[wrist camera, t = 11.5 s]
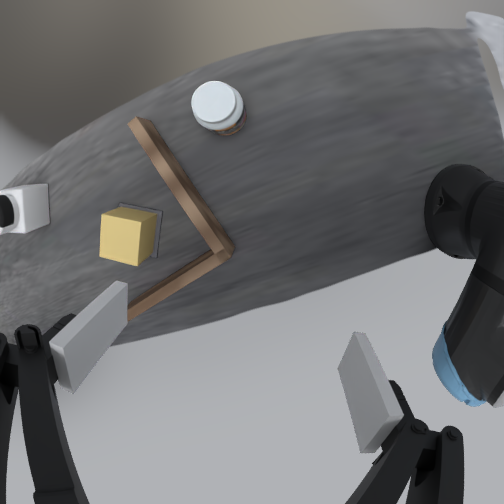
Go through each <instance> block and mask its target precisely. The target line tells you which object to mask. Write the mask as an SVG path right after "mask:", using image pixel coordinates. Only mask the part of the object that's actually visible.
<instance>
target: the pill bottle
mask: <svg viewBox="0 0 504 504" xmlns="http://www.w3.org/2000/svg"><path fill="white" fill-rule="evenodd" d="M191 105H192V110H193V113H194V116H195V118H196V120H197V121H198V123H199V124H201V125H202V126H203V127H205V128H207V129H208V130H210V131H211V132H213V133H215V134H218V135H231V134H234V133H236V132H237V131H238V130H240V129H241V128H242V126H243V125H244V123H245V120H246V109H245V106H244V103H243V100H242V97H241V95H240V94H239V92H238V91H237V90H236V89H234V88H233V87H231V86H229V85H227V84H225V83H223V82H220V81H210V82H207V83H204V84H203V85H201V86H200V87H198V88H197V90H196V91H195V92H194V94H193V97H192V101H191Z"/></svg>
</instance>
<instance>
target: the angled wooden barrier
mask: <svg viewBox="0 0 504 504" xmlns="http://www.w3.org/2000/svg"><path fill="white" fill-rule="evenodd" d="M128 125H129V127H130V129H131V130H132V132H133V133H134V135H135V136H136V138H137V139H138V141H139V143H140V144H141V146H142V147H143V149H144V150H145V152H146V153H147V155H148V156H149V158H150V160H151V161H152V163H153V164H154V166H155V167H156V169H157V170H158V172H159V173H160V175H161V176H162V178H163V179H164V181H165V182H166V184H167V185H168V187H169V188H170V190H171V191H172V193H173V194H174V196H175V197H176V199H177V200H178V202H179V203H180V205H181V206H182V207H183V209H184V210H185V212H186V213H187V215H188V216H189V218H190V219H191V221H192V222H193V224H194V225H195V226H196V228H197V229H198V231H199V232H200V234H201V235H202V237H203V238H204V239H205V241H206V242H207V244H208V245H209V247H210V248H211V250H209V251H208V252H206V253H204V254H203V255H201V256H200V257H198V258H197V259H195V260H194V261H192V262H190V263H189V264H187V265H186V266H184V267H183V268H181V269H180V270H178V271H177V272H175V273H174V274H172V275H170V276H169V277H167V278H166V279H164V280H163V281H161V282H160V283H158V284H157V285H155V286H154V287H152V288H151V289H149V290H148V291H146V292H145V293H143V294H142V295H140V296H139V297H137V298H136V299H134V300H133V301H131V302H130V303H129V305H128V306H127V322H128V321H130V320H131V319H133V318H134V317H136V316H138V315H139V314H141V313H142V312H144V311H146V310H147V309H149V308H150V307H152V306H154V305H155V304H157V303H158V302H160V301H162V300H163V299H165V298H167V297H168V296H170V295H171V294H173V293H175V292H176V291H178V290H179V289H181V288H183V287H184V286H186V285H188V284H189V283H191V282H192V281H194V280H196V279H197V278H199V277H201V276H202V275H204V274H205V273H207V272H209V271H210V270H212V269H214V268H215V267H217V266H218V265H220V264H222V263H223V262H225V261H227V260H228V259H230V258H231V257H232V254H233V251H234V248H235V246H234V244H233V243H232V241H231V240H230V238H229V237H228V235H227V234H226V233H225V231H224V230H223V228H222V227H221V225H220V224H219V222H218V221H217V219H216V218H215V216H214V215H213V213H212V212H211V210H210V209H209V208H208V206H207V205H206V203H205V202H204V200H203V199H202V197H201V196H200V194H199V193H198V191H197V190H196V188H195V187H194V185H193V184H192V182H191V181H190V179H189V178H188V176H187V175H186V173H185V172H184V170H183V169H182V167H181V166H180V164H179V163H178V161H177V160H176V158H175V157H174V155H173V154H172V152H171V151H170V149H169V148H168V146H167V145H166V143H165V142H164V140H163V139H162V137H161V136H160V134H159V133H158V131H157V130H156V128H155V127H154V125H153V124H152V122H151V121H149V120H146V119H143V118H140V117H135V118H134V119H133V120H131V121H130V122H129V123H128Z"/></svg>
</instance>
